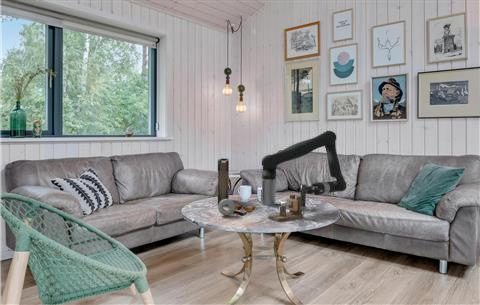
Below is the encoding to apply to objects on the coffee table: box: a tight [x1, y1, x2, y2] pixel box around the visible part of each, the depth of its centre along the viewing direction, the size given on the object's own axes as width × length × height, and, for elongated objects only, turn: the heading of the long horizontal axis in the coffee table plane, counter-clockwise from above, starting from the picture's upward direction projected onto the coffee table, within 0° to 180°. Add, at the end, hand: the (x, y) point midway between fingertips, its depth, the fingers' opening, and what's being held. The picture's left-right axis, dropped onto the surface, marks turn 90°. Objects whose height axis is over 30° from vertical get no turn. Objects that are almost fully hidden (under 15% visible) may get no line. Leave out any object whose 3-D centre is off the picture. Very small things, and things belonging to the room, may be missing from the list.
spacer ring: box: [285, 197, 298, 211], centre depth 207 cm, size 7×2×6 cm, turn 36°
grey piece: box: [279, 183, 307, 208], centre depth 208 cm, size 3×18×13 cm, turn 126°
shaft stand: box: [267, 194, 305, 223], centre depth 205 cm, size 9×19×12 cm, turn 126°
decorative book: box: [217, 158, 230, 207], centre depth 247 cm, size 23×7×30 cm, turn 0°
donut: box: [217, 198, 236, 217], centre depth 209 cm, size 10×3×10 cm, turn 99°
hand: (301, 190), depth 212 cm, fingers open, 8 cm apart
